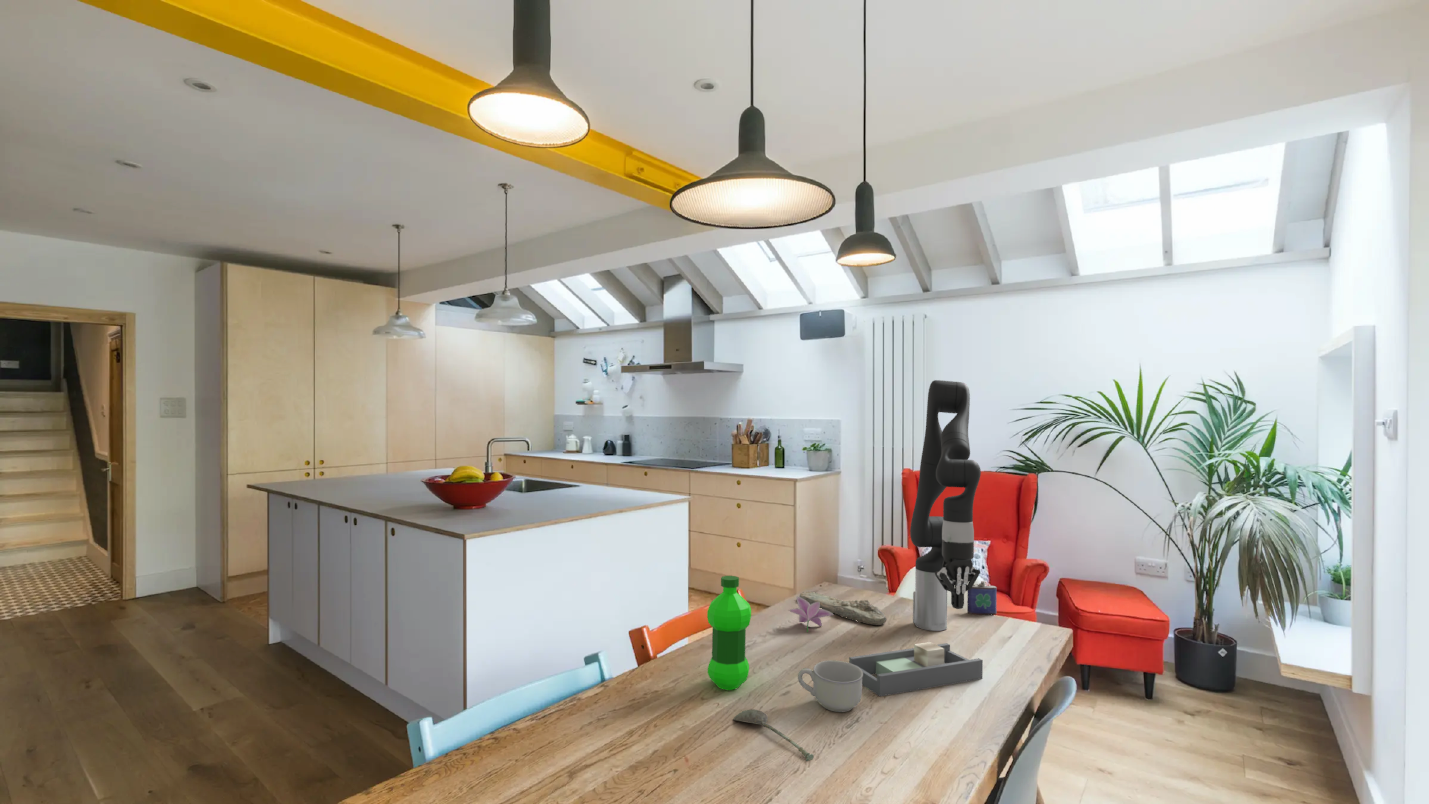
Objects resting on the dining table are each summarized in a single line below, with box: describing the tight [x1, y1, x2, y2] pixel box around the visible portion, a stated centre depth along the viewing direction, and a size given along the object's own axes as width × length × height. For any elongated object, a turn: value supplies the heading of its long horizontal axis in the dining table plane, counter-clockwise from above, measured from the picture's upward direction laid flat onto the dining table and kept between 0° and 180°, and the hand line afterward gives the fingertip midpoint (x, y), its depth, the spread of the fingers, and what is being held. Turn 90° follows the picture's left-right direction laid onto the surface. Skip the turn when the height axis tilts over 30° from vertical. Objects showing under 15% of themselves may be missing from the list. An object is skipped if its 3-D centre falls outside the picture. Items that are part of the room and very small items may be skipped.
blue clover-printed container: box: [966, 580, 998, 616], centre depth 213 cm, size 9×3×11 cm, turn 88°
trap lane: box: [848, 643, 984, 697], centre depth 160 cm, size 12×30×4 cm, turn 112°
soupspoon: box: [732, 708, 815, 762], centre depth 130 cm, size 22×3×7 cm
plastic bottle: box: [706, 575, 752, 691], centre depth 153 cm, size 10×10×25 cm
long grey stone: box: [799, 591, 887, 626], centre depth 213 cm, size 35×5×10 cm
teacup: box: [797, 659, 863, 713], centre depth 144 cm, size 14×11×8 cm
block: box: [913, 641, 944, 667], centre depth 161 cm, size 5×5×4 cm
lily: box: [788, 596, 835, 633], centre depth 195 cm, size 12×12×10 cm
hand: (957, 608), depth 165 cm, fingers closed
